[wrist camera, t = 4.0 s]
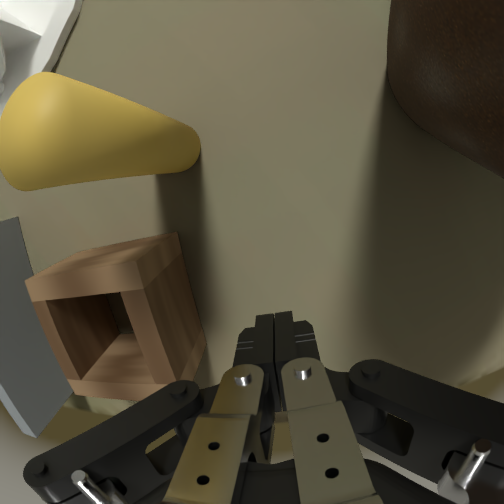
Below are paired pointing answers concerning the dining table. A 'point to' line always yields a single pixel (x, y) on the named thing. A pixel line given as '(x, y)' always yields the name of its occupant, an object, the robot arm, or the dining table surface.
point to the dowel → (86, 136)
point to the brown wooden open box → (104, 326)
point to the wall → (25, 343)
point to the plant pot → (451, 72)
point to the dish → (31, 39)
